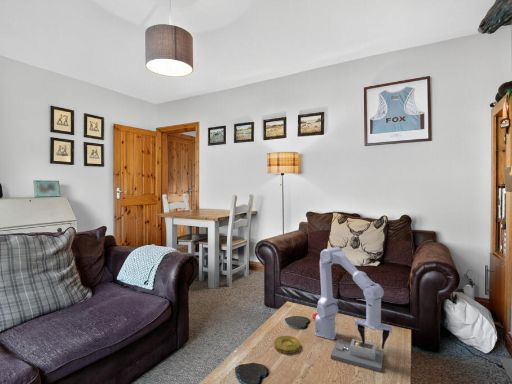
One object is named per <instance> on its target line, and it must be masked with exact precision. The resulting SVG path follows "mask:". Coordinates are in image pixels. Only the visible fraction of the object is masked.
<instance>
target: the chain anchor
mask: <svg viewBox="0 0 512 384" xmlns="http://www.w3.org/2000/svg"><path fill="white" fill-rule="evenodd" d="M343 349H345V350H348V348H347V347H344V345H342V344H338V343H337V346H336V350H339V351H343Z"/></svg>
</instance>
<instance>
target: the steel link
mask: <svg viewBox="0 0 512 384" xmlns="http://www.w3.org/2000/svg"><path fill="white" fill-rule="evenodd" d="M356 342H358V343H360V346H357V345H355V343H356ZM376 349H377V344H376V343H372V342H367V341H365V343H364V344H362V340H360V339H356V338H355V339H354V338H351V344H350V355H354V356H358V357H361V358H365V359H369V360H373V361H375V359H376Z"/></svg>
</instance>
